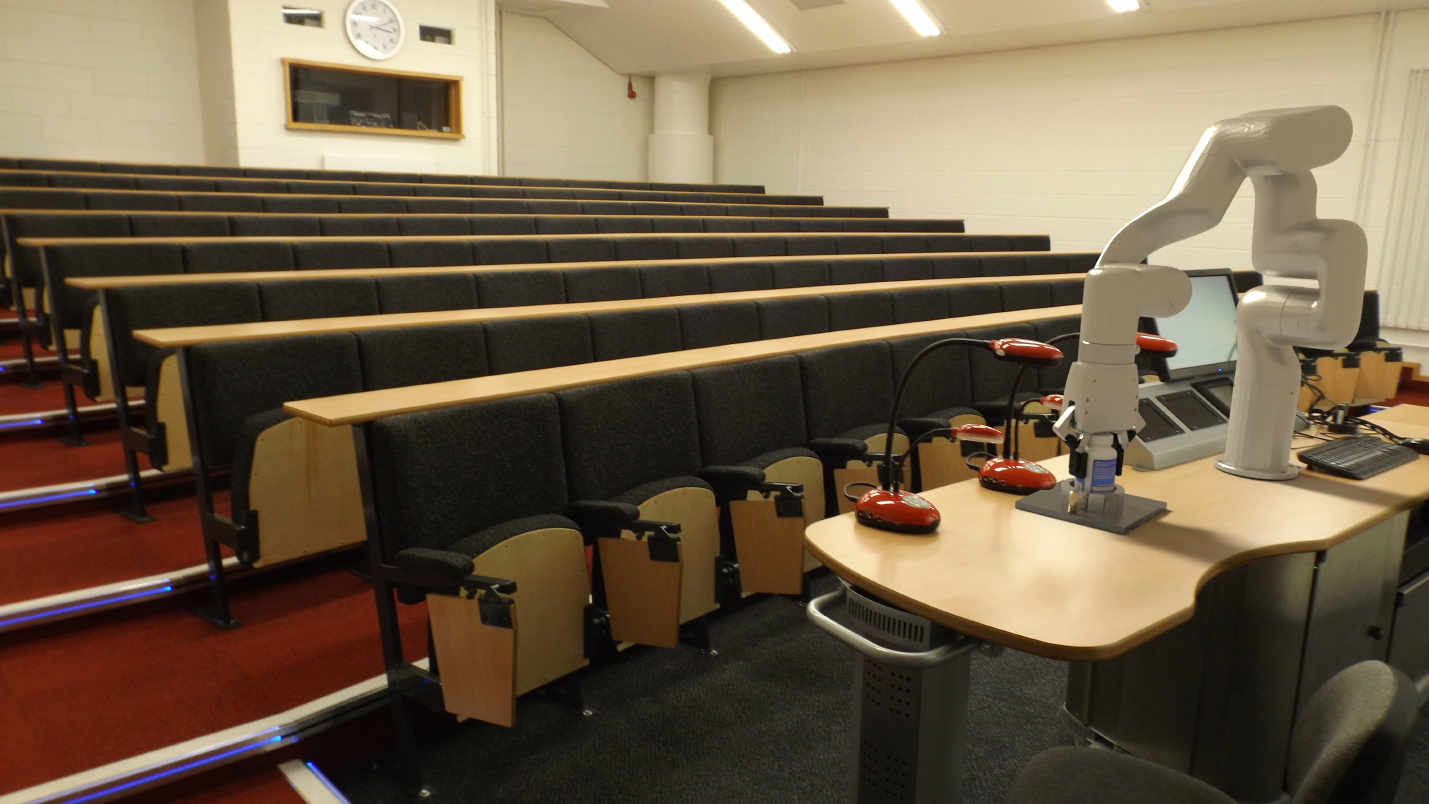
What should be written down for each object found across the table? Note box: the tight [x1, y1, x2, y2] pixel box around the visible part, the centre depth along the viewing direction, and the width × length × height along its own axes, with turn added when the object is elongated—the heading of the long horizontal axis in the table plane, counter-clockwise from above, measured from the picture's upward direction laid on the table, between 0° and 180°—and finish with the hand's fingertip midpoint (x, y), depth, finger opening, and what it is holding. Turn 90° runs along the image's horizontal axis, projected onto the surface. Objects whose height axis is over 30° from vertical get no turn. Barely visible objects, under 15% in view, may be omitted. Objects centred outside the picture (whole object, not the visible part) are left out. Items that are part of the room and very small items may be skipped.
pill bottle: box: [1074, 432, 1117, 493], centre depth 135 cm, size 5×5×10 cm
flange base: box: [1014, 477, 1168, 536], centre depth 136 cm, size 16×16×4 cm
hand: (1094, 473), depth 135 cm, fingers closed on pill bottle, 5 cm apart
